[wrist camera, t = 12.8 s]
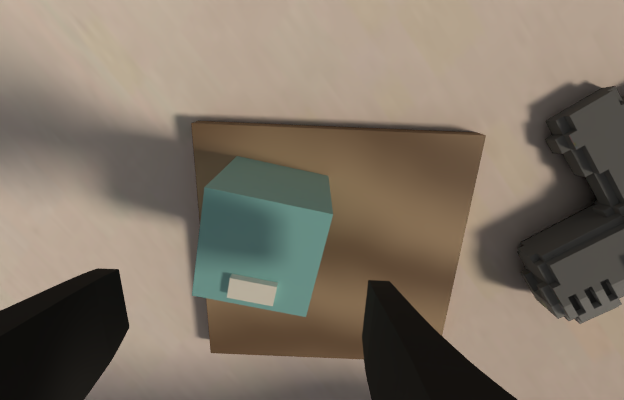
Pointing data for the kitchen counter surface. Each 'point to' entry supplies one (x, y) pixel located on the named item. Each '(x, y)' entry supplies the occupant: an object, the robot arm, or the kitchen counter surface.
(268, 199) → the teal cube
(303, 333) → the board
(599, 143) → the toy gun
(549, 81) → the kitchen counter surface
